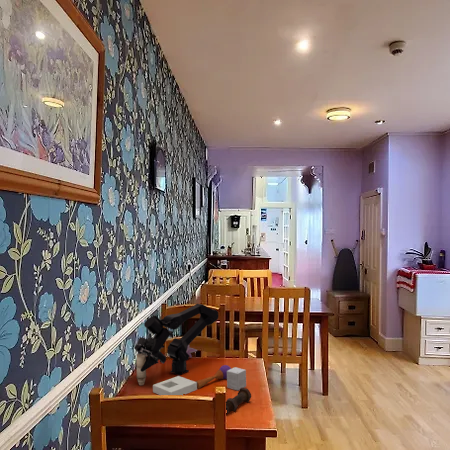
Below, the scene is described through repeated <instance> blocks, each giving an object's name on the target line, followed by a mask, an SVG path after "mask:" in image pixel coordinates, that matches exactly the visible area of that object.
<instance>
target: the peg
mask: <svg viewBox="0 0 450 450" xmlns="http://www.w3.org/2000/svg"><path fill="white" fill-rule="evenodd" d="M146 357H147V356H146V354H143V353H141V354H138V353H137V354H136V364H137V369H136V379H137V383H138V385H139V386H144V385H145V382H146V379H147V369H146V370H145V371H143V372H141V368H142V366H143V365H144V363H145V361H146Z"/></svg>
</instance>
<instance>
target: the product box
mask: <svg viewBox="0 0 450 450" xmlns="http://www.w3.org/2000/svg"><path fill="white" fill-rule="evenodd" d="M226 387H227V388H228V389H231V390H233V391H238V392H239V390H240V388H247V370H246V369H243V368H240V367H237V366H235V367H232V368H231V369H230V370H228V371H227V379H226Z"/></svg>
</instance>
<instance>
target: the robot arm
mask: <svg viewBox="0 0 450 450" xmlns="http://www.w3.org/2000/svg"><path fill="white" fill-rule="evenodd" d="M197 315H199V319H198V320H197V321H196V322H195V323H194V324H193V326H191V327H190V328H189V329H188V331H187V332H185V334H184V335H182V337H181V338H174V331H172V330H177V329H178V328H180V326H182V324H183V323H184V322H186V321H188V320H189V319H191V318H193V317H195V316H197ZM219 316H220V315H219V312H218V310H217V309H213V308H211V307H208V306H206V305H205V304H201V303H195V304H194V305H192V306H191V307H188V308H187V309H184V310H182V311H179V312H178V313H172V314H168V315H165V316H164V317H163V318H161V319H160V318H159V317H158V315H156V314H153V315H152V316H151V317H149V318H148V319H146V320H145V321H144V324H143V326H144V328H146V330H148V331H149V332H150V333H151V334H152V335H154V336H153V337H147V338H145V337H141V336H139V338H138V341H137V344H135V345H134V347H133V349H134V350H135V351H136V352H137V354H141V353H143V354H146V361H145V363H144V365H143V366H142V368H141V372H143V371H145V370H146V371H147V370H148V369H149V368H151V367H153V366H155V365H157V364H159V362H160V364H165V362H166V361H167V356H166V355H165V354H164V353H162V352H161V351H160V350H161V349H164V348H165V343H166V342H167V340H168V339H169V338H173V340H172V341H170V342H169V343H168V346H167V348H166V351H167V355H168V356H169V358H170V359H172V361H171V370H170V371H169V372H170V373H172V374H175V375H177V376H180V375H182V374H186V373H188V372H189V370H188V369H187V361H189V359H190V357H189V354H188V353H186V351H187V348H188V345H189V346H190V344H191V343H192V342H193V341H194V340H195V339H196V338H197V336H199V335H200V334H201V333H202V331H203V330H204V329H206V327H207V326H210V325H212V324H214V323H215V322H216V321H218V320H219ZM169 329H170V330H169ZM134 369H136V370H137V363H136V364H135V367H134Z"/></svg>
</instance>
